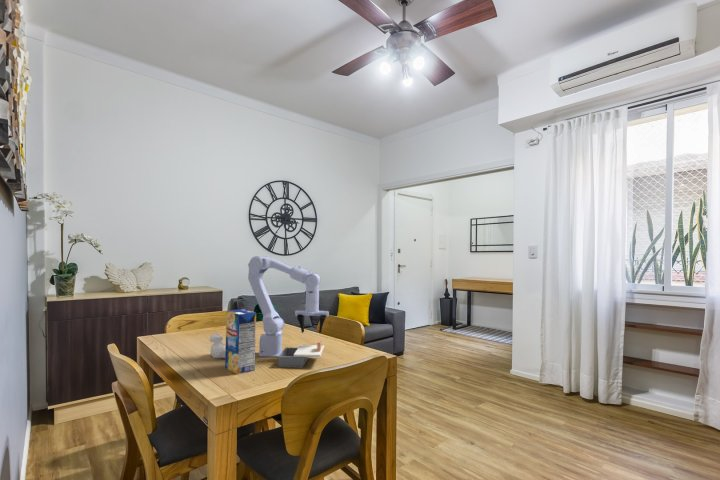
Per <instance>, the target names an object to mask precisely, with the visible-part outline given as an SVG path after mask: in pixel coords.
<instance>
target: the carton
mask: <svg viewBox="0 0 720 480" xmlns="http://www.w3.org/2000/svg"><path fill="white" fill-rule="evenodd" d="M298 348H299V347H292V346H291V347H288V346H287V347H285V348H284V349H282V352H281V354H280V355H279V356H278V357H277V368H301V369H302V368H303V369H304V366H305V365H306V362H307V361H308V359H309V357H294V353H295V352H296V350H297V349H298Z"/></svg>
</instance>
